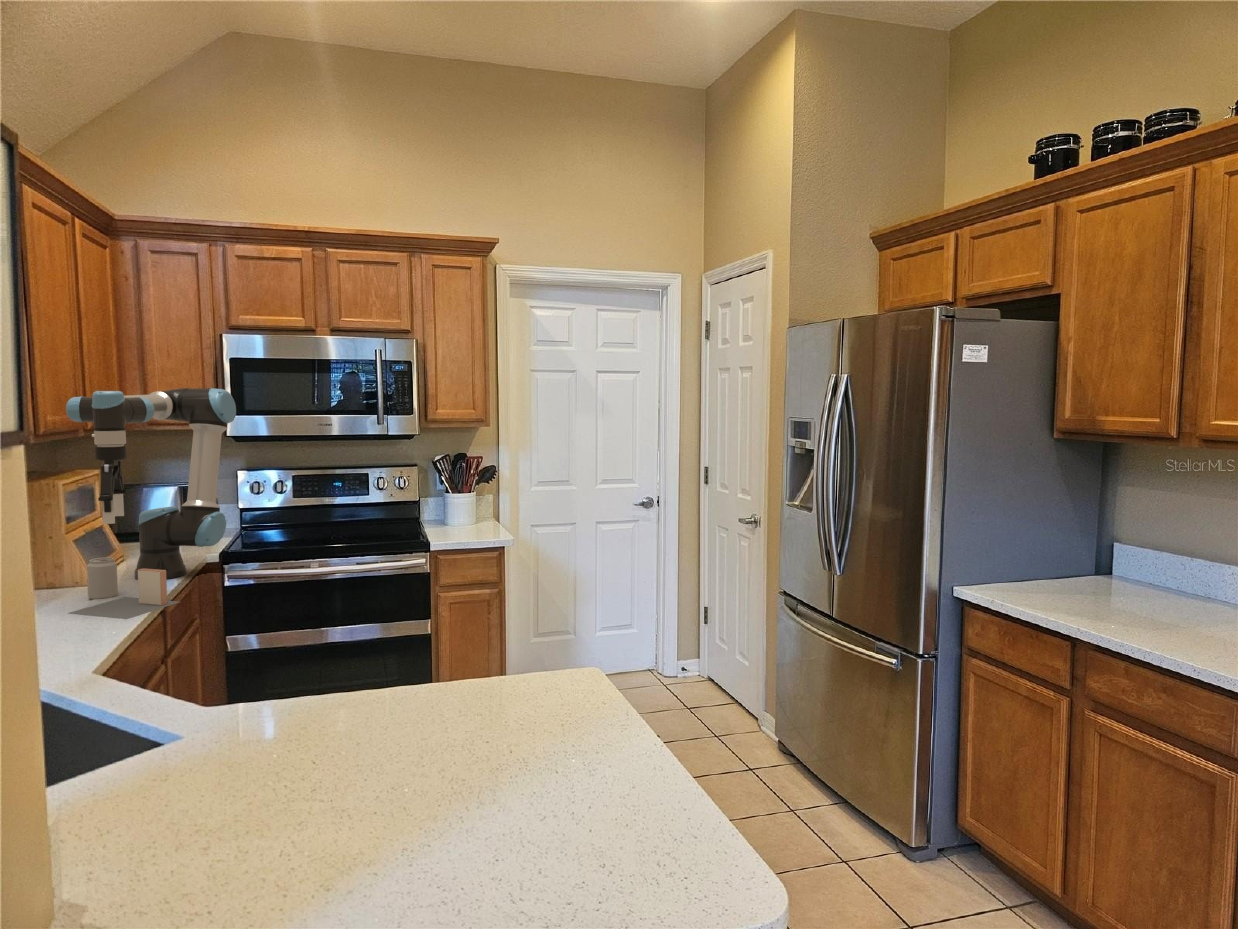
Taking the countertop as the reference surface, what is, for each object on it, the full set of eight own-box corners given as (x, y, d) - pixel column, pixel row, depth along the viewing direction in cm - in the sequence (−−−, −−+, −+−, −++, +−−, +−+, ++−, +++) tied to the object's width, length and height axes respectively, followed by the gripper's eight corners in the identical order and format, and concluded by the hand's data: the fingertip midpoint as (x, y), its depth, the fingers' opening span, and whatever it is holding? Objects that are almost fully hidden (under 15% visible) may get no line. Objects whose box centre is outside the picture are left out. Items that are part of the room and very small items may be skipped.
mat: (125, 598, 233) (125, 596, 233) (181, 603, 229) (180, 601, 229) (67, 615, 215) (66, 613, 215) (126, 621, 210) (126, 619, 210)
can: (123, 595, 237) (122, 556, 236) (105, 601, 230) (103, 561, 229) (101, 594, 238) (99, 555, 237) (81, 600, 231) (80, 560, 230)
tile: (144, 601, 228) (143, 568, 227) (167, 603, 226) (166, 570, 226) (138, 603, 226) (137, 569, 225) (161, 605, 224) (160, 571, 224)
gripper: (103, 442, 229) (107, 513, 231) (84, 449, 206) (88, 527, 208) (133, 442, 232) (136, 512, 234) (117, 448, 209) (121, 526, 211)
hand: (113, 519), depth 221 cm, fingers open, 13 cm apart
